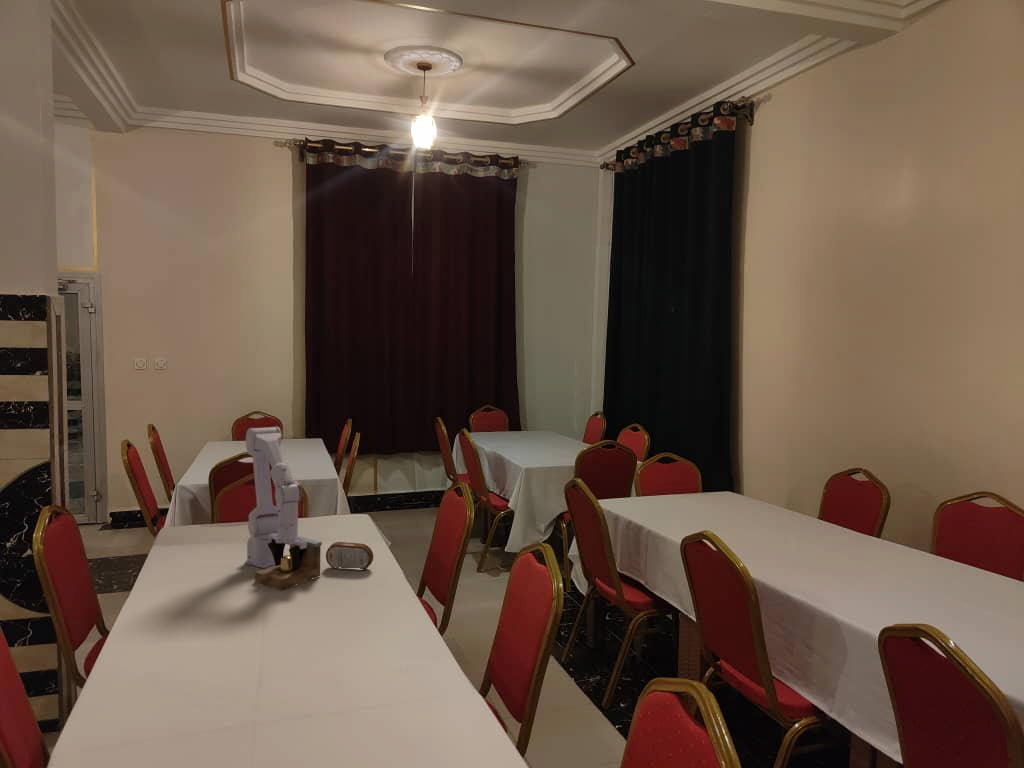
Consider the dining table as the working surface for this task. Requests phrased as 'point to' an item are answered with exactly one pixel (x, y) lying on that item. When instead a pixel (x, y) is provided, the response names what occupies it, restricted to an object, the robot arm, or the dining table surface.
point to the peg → (286, 564)
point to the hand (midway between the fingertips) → (287, 567)
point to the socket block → (306, 571)
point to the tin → (349, 555)
